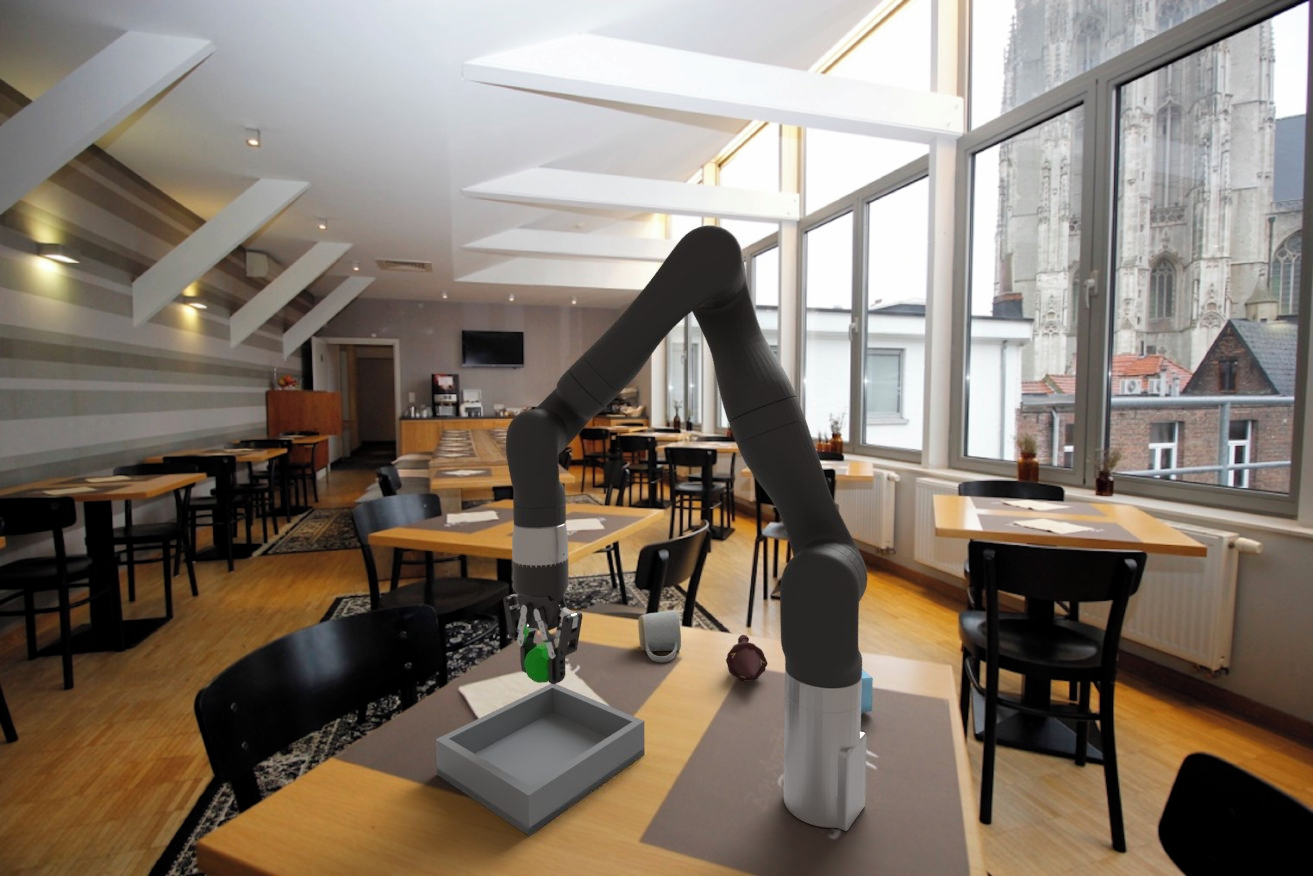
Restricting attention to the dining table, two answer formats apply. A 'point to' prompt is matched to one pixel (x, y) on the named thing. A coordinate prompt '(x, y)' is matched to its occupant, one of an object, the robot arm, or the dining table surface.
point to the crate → (539, 754)
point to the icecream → (746, 660)
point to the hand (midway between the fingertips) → (542, 675)
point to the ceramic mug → (660, 634)
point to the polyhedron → (537, 664)
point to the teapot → (866, 692)
